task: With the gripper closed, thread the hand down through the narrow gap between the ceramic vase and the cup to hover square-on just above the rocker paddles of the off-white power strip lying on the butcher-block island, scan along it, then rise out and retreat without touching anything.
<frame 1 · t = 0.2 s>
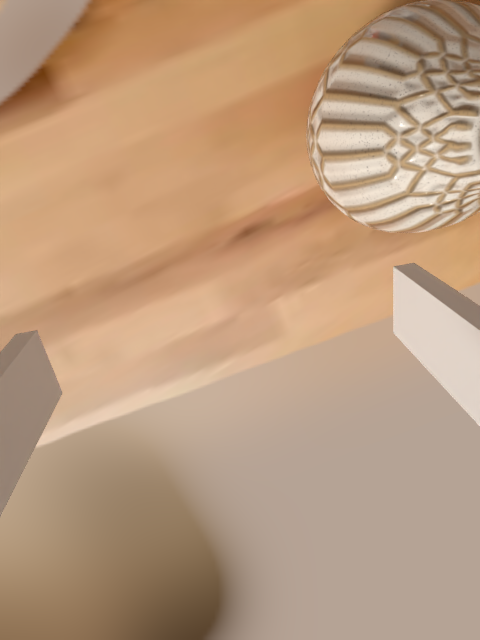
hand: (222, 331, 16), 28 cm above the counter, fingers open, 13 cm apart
vase: (374, 127, 40), on the counter
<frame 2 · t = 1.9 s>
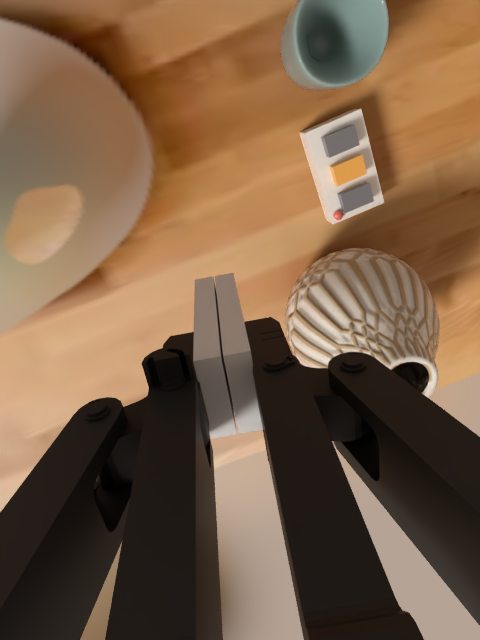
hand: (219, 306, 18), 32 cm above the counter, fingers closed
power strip: (337, 166, 48), on the counter
vase: (337, 295, 54), on the counter
cup: (311, 50, 42), on the counter
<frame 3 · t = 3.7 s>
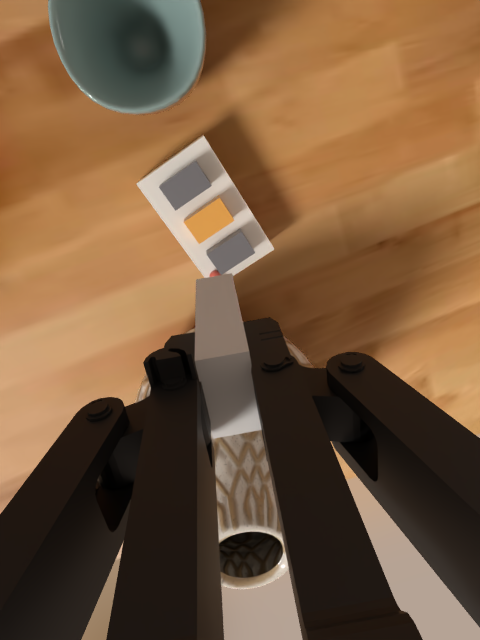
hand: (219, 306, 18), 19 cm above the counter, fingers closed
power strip: (207, 210, 36), on the counter
vase: (226, 369, 42), on the counter
cup: (148, 55, 30), on the counter
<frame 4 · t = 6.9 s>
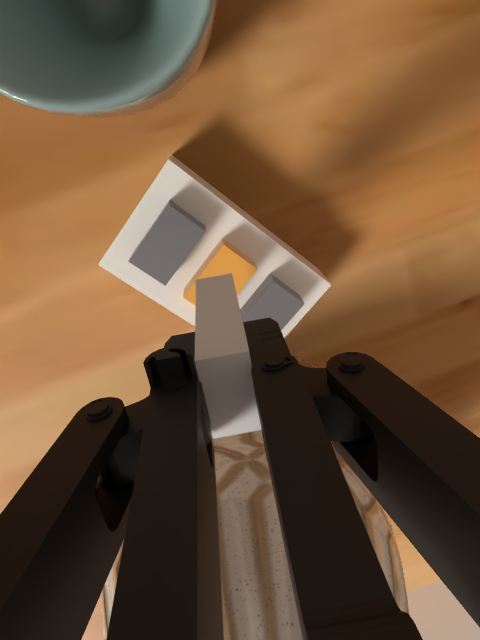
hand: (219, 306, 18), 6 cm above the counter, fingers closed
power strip: (216, 257, 24), on the counter
vase: (239, 468, 30), on the counter
cup: (123, 21, 19), on the counter
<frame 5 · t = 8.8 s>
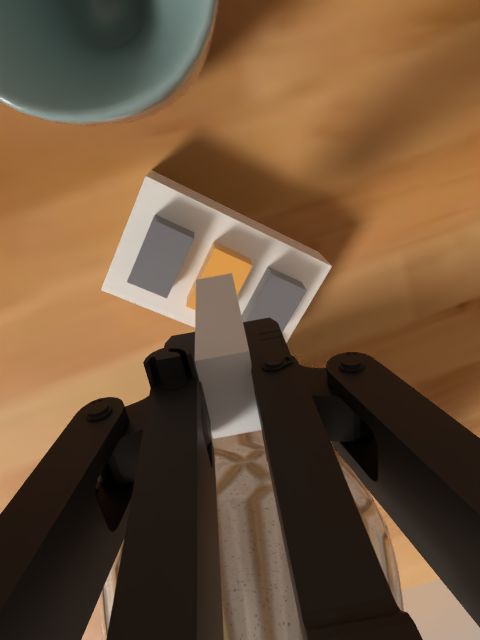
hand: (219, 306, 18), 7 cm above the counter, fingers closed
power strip: (215, 260, 24), on the counter
vase: (237, 469, 31), on the counter
cup: (123, 27, 19), on the counter
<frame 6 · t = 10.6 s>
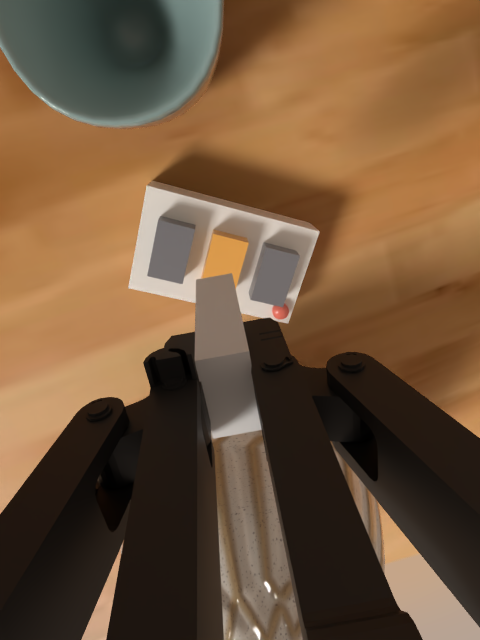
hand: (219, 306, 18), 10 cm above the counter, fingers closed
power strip: (221, 247, 28), on the counter
vase: (241, 440, 34), on the counter
cup: (144, 49, 23), on the counter
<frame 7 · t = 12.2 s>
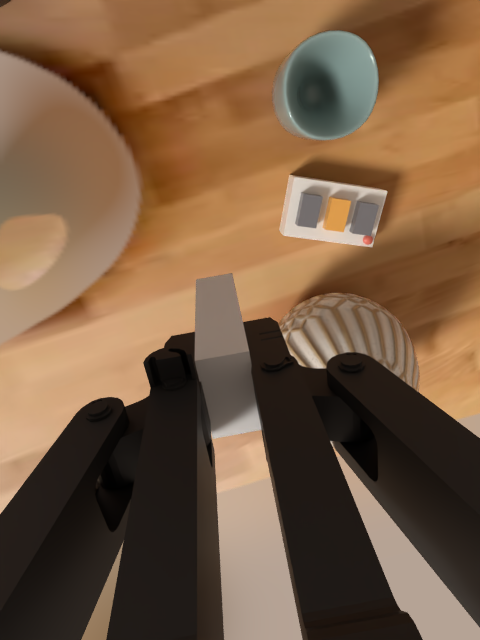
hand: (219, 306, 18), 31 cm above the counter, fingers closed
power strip: (327, 208, 48), on the counter
vase: (321, 336, 54), on the counter
cup: (303, 97, 43), on the counter
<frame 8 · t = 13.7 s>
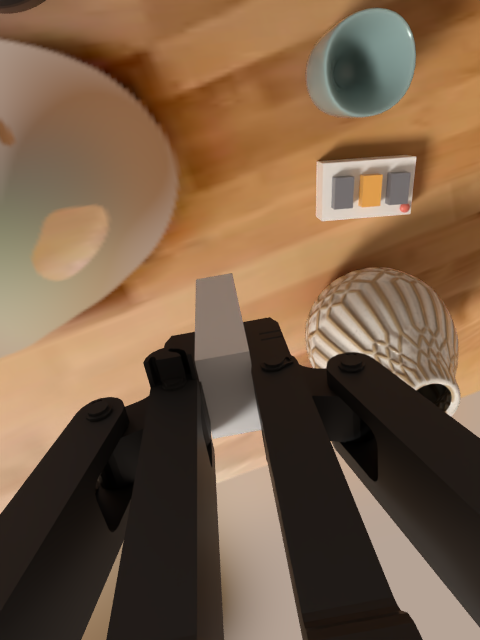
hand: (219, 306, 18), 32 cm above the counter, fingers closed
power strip: (358, 185, 49), on the counter
vase: (354, 311, 55), on the counter
cup: (334, 76, 44), on the counter
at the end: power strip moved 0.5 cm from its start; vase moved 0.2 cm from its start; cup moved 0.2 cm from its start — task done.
